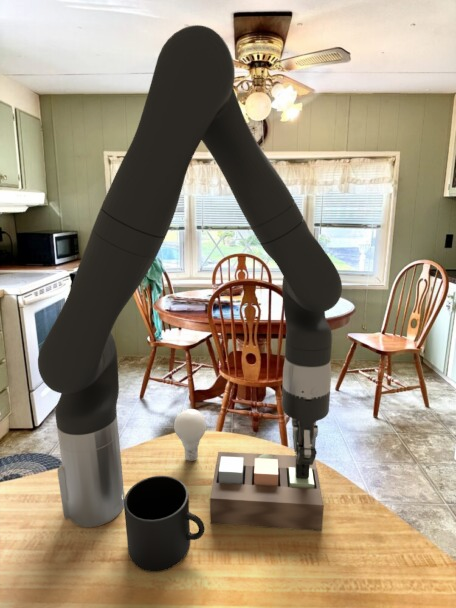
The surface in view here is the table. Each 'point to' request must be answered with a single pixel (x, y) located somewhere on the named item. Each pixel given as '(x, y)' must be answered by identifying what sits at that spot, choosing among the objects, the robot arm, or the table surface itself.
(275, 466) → the terracotta button
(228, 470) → the slate button
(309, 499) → the console
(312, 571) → the table surface
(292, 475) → the sage button
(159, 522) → the mug
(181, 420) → the lightbulb
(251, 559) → the table surface
